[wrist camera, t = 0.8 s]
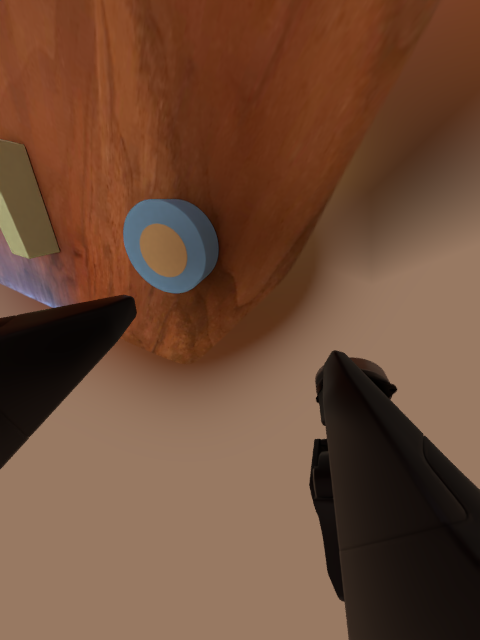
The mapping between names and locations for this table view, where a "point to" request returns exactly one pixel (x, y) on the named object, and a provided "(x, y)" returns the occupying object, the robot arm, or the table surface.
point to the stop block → (23, 205)
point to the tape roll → (170, 243)
